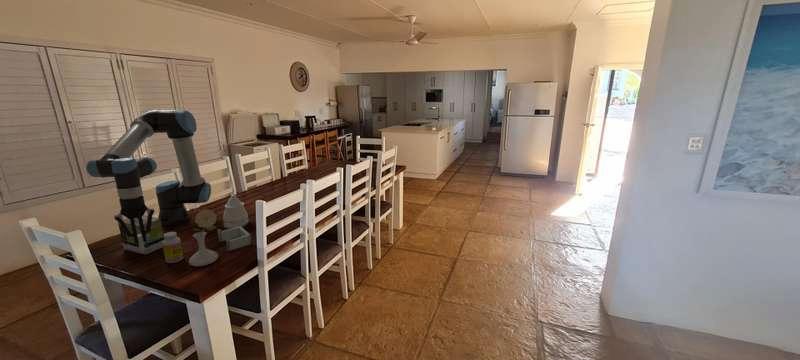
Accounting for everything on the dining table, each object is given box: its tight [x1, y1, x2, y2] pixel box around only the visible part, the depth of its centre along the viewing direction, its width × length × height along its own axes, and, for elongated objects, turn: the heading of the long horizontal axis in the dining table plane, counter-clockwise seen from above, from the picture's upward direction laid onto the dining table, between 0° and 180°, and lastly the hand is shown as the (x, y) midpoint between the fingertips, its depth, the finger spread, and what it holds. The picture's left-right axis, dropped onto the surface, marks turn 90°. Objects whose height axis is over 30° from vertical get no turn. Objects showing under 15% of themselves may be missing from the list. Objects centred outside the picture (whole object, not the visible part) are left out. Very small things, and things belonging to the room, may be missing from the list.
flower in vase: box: [188, 209, 219, 267], centre depth 137 cm, size 13×11×25 cm
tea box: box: [117, 214, 165, 255], centre depth 149 cm, size 15×10×15 cm, turn 71°
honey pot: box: [222, 194, 250, 229], centre depth 178 cm, size 13×13×18 cm
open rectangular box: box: [217, 226, 252, 252], centre depth 158 cm, size 14×11×6 cm
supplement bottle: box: [162, 231, 184, 264], centre depth 140 cm, size 7×7×13 cm
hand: (142, 249), depth 132 cm, fingers closed
